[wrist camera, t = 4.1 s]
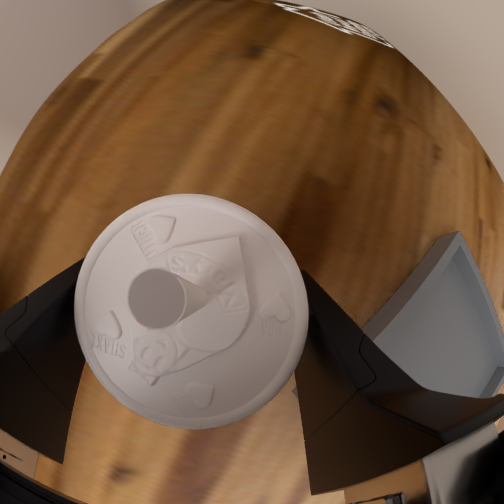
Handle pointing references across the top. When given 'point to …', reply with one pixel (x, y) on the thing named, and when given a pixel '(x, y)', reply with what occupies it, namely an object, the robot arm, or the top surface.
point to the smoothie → (191, 311)
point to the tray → (443, 324)
